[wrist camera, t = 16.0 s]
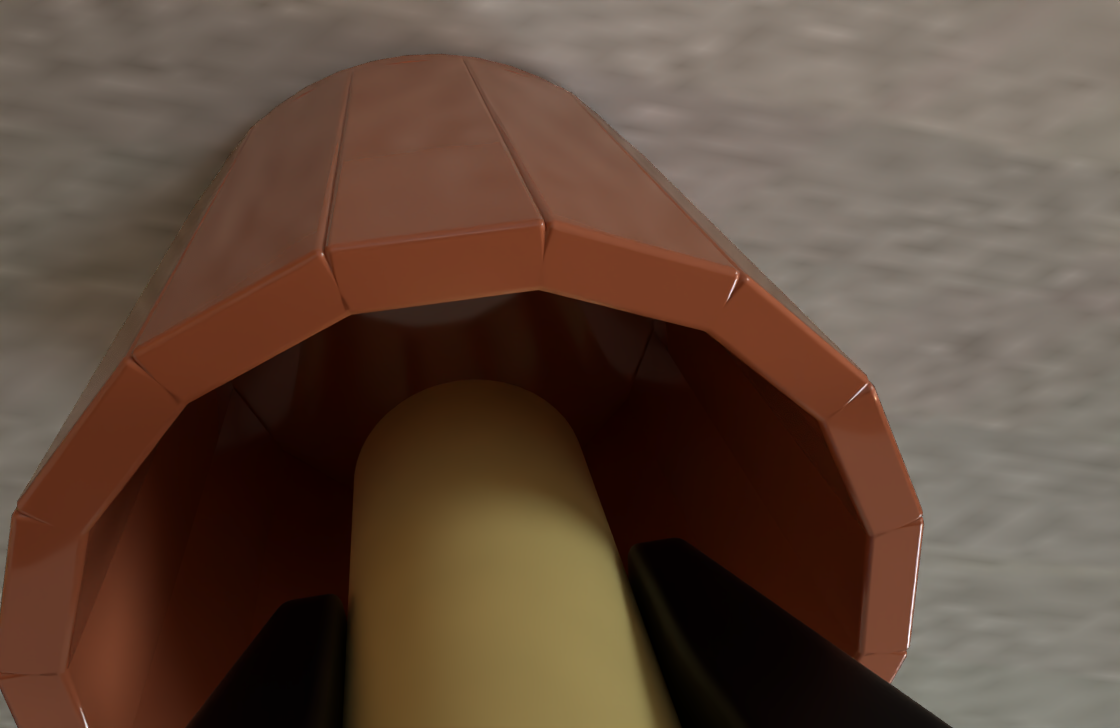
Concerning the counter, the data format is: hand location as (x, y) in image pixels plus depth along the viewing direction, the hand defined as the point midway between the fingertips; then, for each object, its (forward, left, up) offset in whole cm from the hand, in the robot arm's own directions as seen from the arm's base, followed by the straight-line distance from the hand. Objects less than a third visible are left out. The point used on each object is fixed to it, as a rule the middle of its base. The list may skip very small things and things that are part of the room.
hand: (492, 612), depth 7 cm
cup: (0, 0, -6) cm, 6 cm away
